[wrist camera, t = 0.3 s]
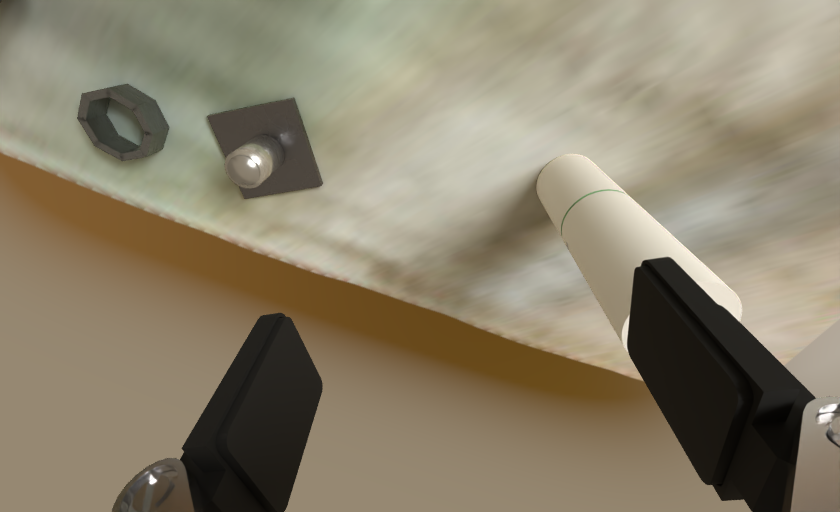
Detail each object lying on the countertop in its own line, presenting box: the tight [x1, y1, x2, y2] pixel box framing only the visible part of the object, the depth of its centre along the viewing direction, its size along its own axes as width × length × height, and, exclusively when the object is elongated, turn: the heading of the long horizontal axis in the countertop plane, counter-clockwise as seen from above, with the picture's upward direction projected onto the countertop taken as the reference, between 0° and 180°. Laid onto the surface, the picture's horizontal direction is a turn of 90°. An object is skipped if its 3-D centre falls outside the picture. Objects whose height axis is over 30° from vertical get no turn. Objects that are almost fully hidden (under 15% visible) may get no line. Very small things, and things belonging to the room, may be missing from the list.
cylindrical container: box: [536, 154, 742, 352], centre depth 35 cm, size 7×7×25 cm
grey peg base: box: [207, 98, 323, 199], centre depth 42 cm, size 10×10×7 cm
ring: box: [77, 84, 169, 161], centre depth 42 cm, size 7×7×3 cm
